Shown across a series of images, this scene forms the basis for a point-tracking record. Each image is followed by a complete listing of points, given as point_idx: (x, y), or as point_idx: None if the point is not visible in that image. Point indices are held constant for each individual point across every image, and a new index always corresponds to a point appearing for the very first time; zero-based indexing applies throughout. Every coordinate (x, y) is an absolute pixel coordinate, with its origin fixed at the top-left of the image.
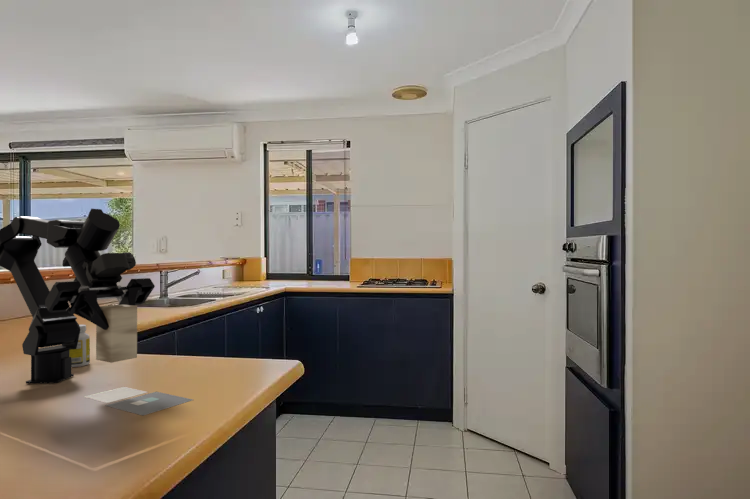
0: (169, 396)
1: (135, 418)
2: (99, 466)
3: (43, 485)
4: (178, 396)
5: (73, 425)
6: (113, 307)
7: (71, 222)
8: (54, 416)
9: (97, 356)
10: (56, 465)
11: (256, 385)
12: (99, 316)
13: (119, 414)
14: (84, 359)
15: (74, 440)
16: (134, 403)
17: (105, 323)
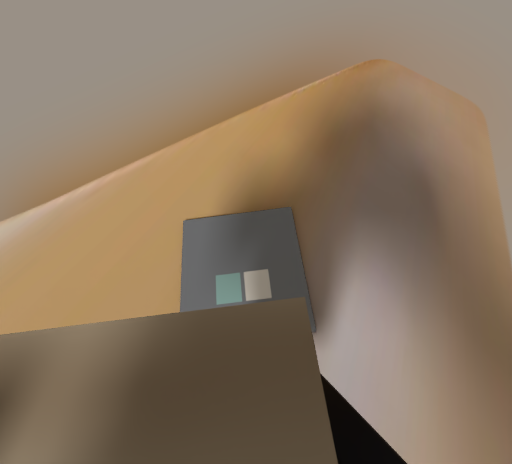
0: (191, 278)
1: (301, 213)
2: (394, 104)
3: (449, 100)
4: (182, 262)
5: (397, 258)
6: (256, 368)
7: None
8: (425, 358)
9: None
10: (435, 131)
11: (46, 223)
12: (382, 445)
13: (312, 255)
14: None
15: (406, 188)
16: (266, 287)
17: (326, 382)
